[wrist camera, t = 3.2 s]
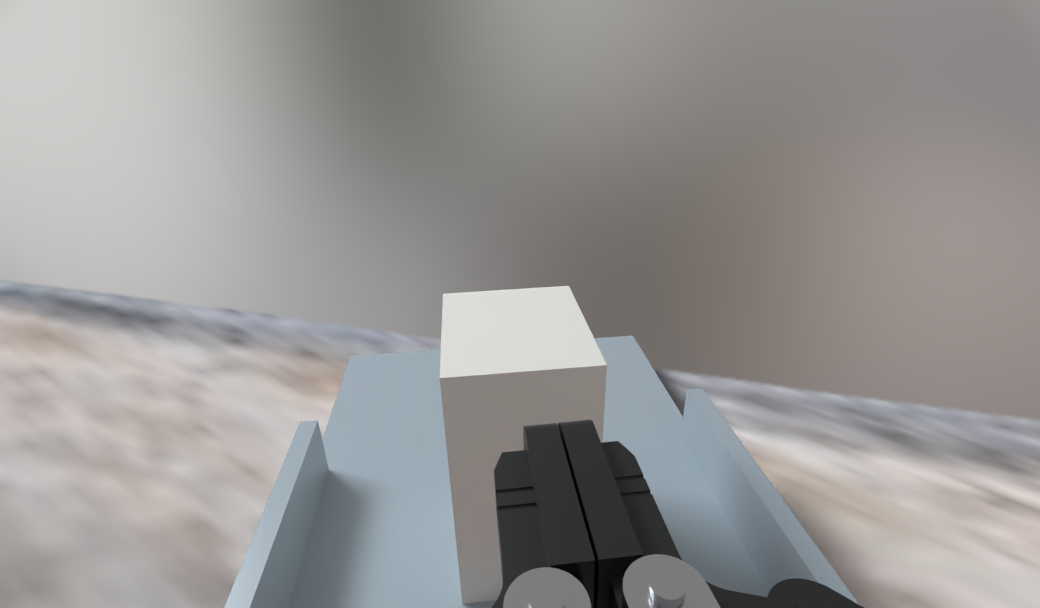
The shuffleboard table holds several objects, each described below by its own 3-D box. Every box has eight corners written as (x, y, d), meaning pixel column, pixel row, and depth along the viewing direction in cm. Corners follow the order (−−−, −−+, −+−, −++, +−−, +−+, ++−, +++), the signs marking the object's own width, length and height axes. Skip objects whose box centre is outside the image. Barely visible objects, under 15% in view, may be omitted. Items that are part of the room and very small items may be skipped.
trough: (1022, 1050, 12) (1124, 967, 10) (100, 1244, 10) (-17, 1196, 8) (630, 359, 39) (635, 297, 37) (354, 381, 37) (343, 316, 35)
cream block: (594, 588, 21) (607, 365, 16) (462, 603, 20) (439, 377, 16) (564, 476, 26) (568, 285, 22) (460, 486, 25) (443, 293, 21)
